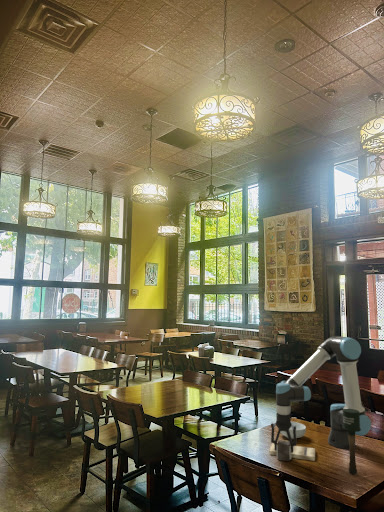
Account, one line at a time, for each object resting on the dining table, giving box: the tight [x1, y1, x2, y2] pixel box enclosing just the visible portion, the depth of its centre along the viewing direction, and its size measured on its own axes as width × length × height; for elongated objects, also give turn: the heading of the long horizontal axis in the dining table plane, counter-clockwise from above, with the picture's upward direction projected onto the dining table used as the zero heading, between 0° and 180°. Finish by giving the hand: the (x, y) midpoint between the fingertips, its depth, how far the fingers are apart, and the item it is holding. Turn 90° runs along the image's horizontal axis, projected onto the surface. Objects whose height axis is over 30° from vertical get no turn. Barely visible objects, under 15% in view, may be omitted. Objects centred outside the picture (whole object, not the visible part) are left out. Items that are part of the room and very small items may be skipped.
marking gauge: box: [277, 439, 290, 462], centre depth 210 cm, size 6×18×8 cm, turn 161°
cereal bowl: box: [280, 421, 307, 440], centre depth 239 cm, size 17×17×7 cm
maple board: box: [269, 443, 316, 462], centre depth 212 cm, size 24×13×2 cm, turn 72°
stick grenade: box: [342, 409, 361, 475], centre depth 190 cm, size 8×9×30 cm
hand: (284, 457), depth 204 cm, fingers closed on marking gauge, 6 cm apart
